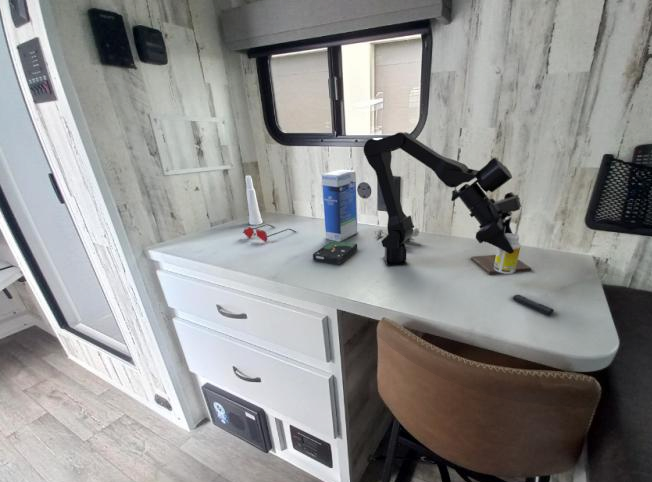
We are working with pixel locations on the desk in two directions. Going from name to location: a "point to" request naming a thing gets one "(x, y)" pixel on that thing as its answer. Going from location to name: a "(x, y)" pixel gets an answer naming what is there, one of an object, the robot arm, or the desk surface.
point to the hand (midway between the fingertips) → (513, 249)
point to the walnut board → (489, 260)
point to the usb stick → (533, 304)
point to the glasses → (260, 232)
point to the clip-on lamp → (415, 233)
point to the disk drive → (335, 252)
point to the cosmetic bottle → (252, 203)
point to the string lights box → (340, 204)
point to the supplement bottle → (508, 256)
